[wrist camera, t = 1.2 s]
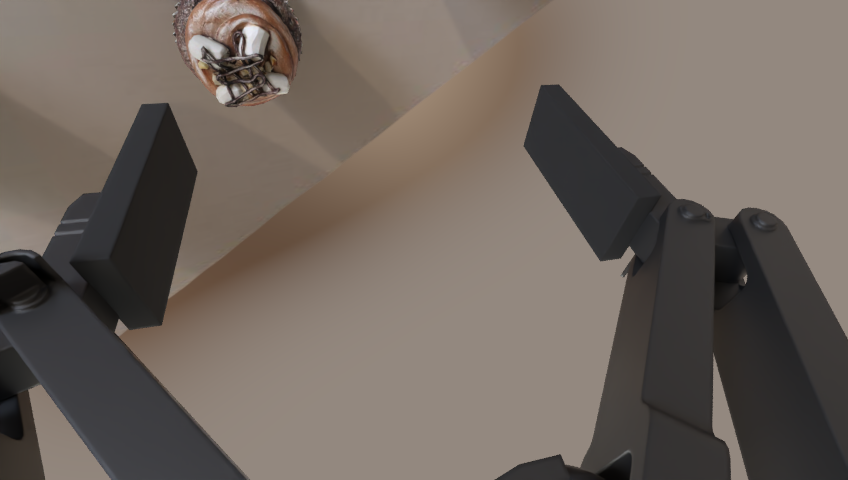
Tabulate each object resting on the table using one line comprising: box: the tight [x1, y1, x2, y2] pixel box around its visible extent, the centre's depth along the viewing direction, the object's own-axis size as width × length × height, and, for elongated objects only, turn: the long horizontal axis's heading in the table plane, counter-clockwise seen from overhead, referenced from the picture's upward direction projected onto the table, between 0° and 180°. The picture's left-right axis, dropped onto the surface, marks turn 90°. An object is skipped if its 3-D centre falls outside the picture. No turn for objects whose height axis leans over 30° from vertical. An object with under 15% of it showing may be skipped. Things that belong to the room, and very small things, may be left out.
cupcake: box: [172, 0, 303, 107], centre depth 33 cm, size 10×10×10 cm
